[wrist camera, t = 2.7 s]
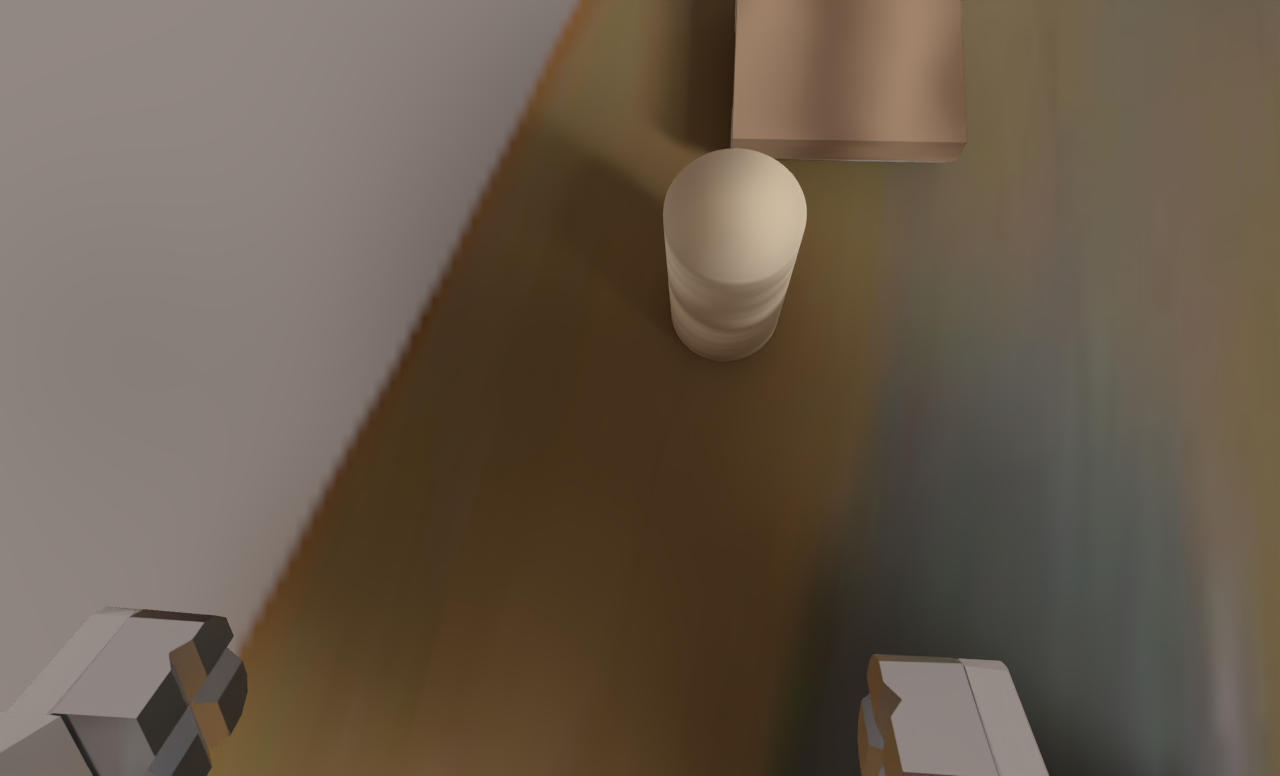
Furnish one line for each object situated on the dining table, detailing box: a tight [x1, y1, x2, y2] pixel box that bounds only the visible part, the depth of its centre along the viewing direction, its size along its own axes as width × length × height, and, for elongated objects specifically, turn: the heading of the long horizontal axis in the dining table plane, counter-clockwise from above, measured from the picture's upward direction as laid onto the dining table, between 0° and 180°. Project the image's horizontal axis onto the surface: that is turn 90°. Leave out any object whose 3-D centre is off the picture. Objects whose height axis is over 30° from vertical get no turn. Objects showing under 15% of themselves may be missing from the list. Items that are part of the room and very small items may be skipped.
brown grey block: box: [730, 0, 967, 163], centre depth 38 cm, size 10×11×6 cm
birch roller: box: [663, 148, 807, 362], centre depth 34 cm, size 5×5×10 cm
